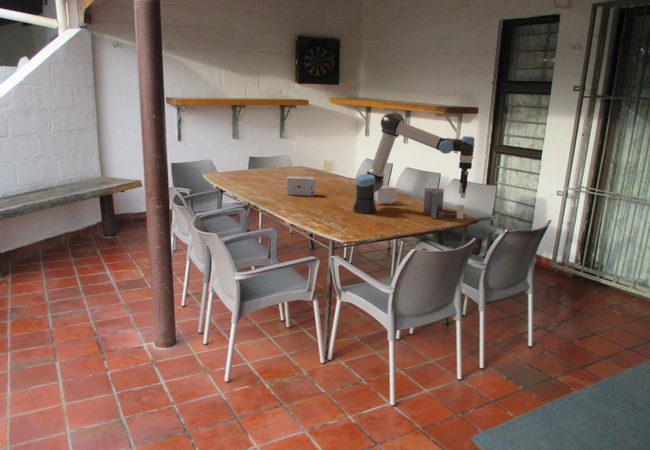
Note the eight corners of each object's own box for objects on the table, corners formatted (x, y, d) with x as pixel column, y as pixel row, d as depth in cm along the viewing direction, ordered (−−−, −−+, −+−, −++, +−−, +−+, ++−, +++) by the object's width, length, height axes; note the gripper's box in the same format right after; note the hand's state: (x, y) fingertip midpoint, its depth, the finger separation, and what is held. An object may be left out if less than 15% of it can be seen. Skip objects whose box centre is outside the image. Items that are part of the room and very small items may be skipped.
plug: (438, 217, 332) (439, 204, 330) (438, 215, 336) (439, 203, 334) (463, 218, 329) (464, 206, 327) (462, 217, 333) (463, 205, 331)
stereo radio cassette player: (315, 194, 392) (316, 167, 387) (314, 196, 384) (314, 169, 379) (287, 193, 394) (288, 166, 388) (285, 195, 386) (286, 168, 381)
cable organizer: (375, 204, 363) (376, 188, 360) (369, 201, 372) (370, 185, 369) (395, 203, 367) (396, 187, 364) (389, 200, 377) (390, 184, 374)
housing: (423, 218, 328) (425, 193, 324) (423, 208, 356) (424, 184, 352) (443, 219, 327) (445, 194, 322) (441, 209, 354) (443, 185, 350)
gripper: (474, 165, 310) (470, 200, 316) (470, 159, 334) (466, 192, 339) (461, 164, 311) (457, 199, 317) (457, 158, 335) (454, 191, 341)
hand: (461, 195), depth 328 cm, fingers open, 13 cm apart
